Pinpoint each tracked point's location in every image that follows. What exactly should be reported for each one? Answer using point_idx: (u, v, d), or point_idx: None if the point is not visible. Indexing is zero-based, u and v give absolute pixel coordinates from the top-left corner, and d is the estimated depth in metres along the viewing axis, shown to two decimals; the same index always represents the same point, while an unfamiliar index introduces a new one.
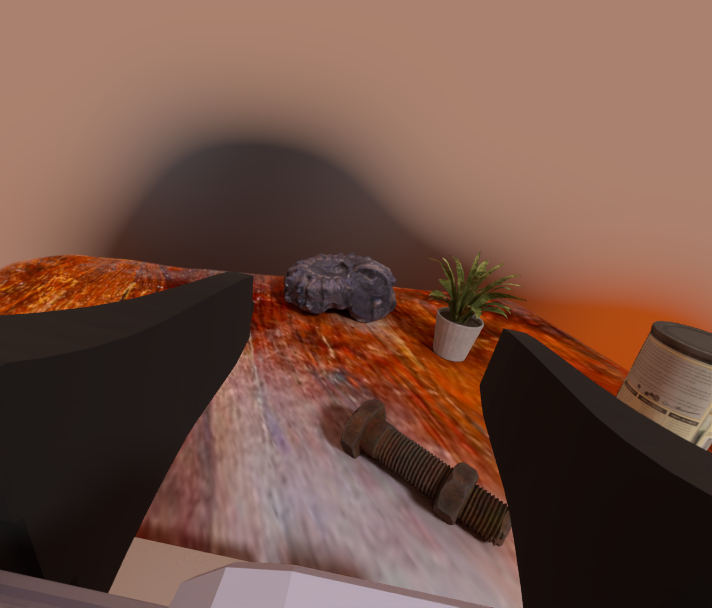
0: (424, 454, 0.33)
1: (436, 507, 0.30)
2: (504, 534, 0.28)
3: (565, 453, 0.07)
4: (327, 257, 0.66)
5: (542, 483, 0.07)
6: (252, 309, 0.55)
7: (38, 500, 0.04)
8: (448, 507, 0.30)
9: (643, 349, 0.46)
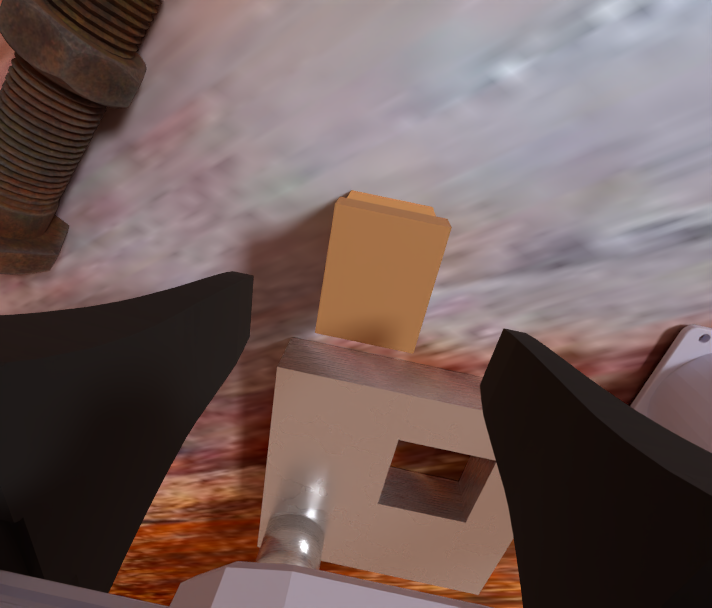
0: (14, 121, 0.15)
1: None
2: None
3: (565, 453, 0.07)
4: None
5: (542, 483, 0.07)
6: None
7: (38, 500, 0.04)
8: (124, 87, 0.15)
9: None
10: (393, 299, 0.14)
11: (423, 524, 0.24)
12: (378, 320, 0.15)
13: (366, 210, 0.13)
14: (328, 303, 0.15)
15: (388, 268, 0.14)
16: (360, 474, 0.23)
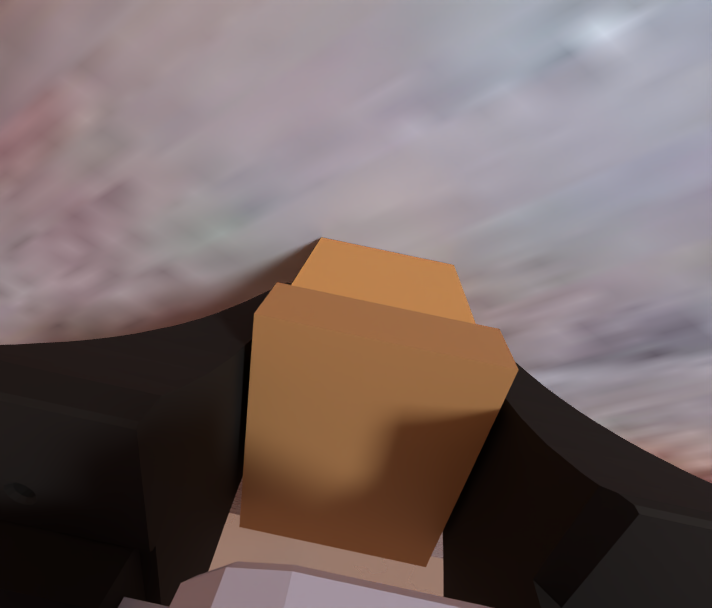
0: None
1: None
2: None
3: None
4: None
5: None
6: None
7: (165, 527, 0.04)
8: None
9: None
10: (387, 487, 0.07)
11: None
12: (358, 516, 0.07)
13: (325, 329, 0.06)
14: (259, 486, 0.07)
15: (376, 436, 0.06)
16: None
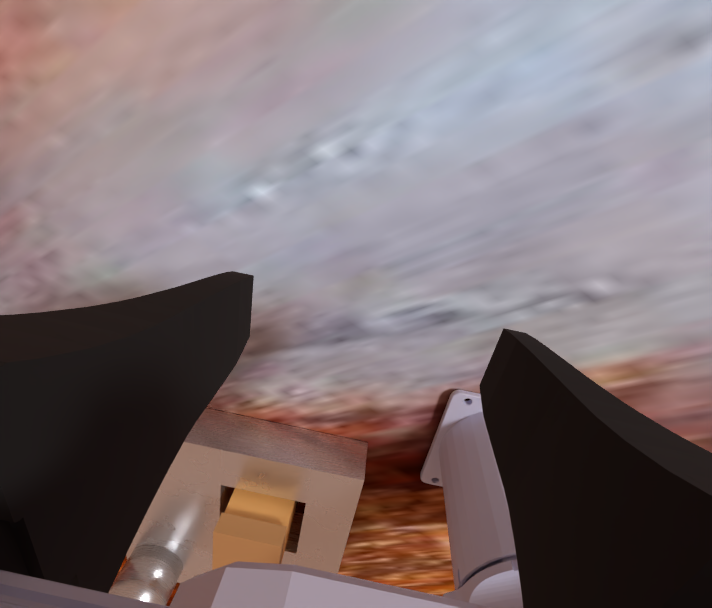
0: None
1: None
2: None
3: (565, 453, 0.07)
4: None
5: (542, 483, 0.07)
6: None
7: (38, 500, 0.04)
8: None
9: None
10: None
11: None
12: None
13: (231, 536, 0.22)
14: None
15: (249, 559, 0.23)
16: (198, 512, 0.26)
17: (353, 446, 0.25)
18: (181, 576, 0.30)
